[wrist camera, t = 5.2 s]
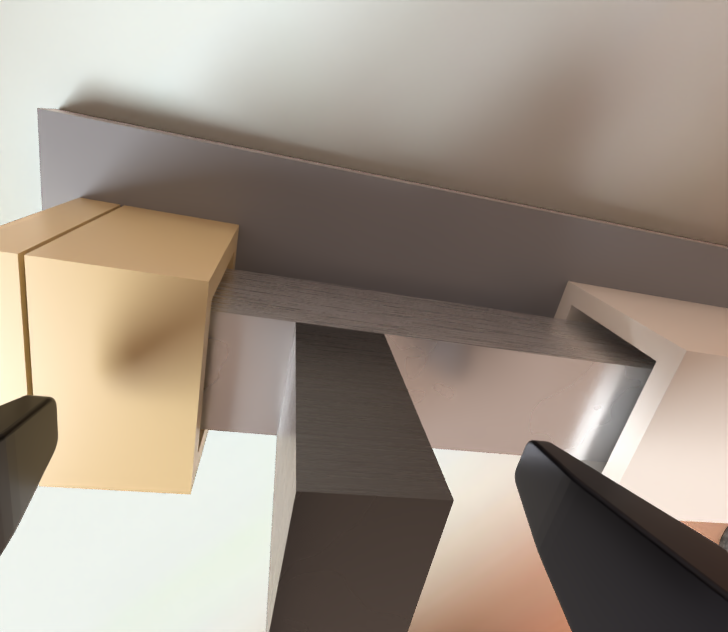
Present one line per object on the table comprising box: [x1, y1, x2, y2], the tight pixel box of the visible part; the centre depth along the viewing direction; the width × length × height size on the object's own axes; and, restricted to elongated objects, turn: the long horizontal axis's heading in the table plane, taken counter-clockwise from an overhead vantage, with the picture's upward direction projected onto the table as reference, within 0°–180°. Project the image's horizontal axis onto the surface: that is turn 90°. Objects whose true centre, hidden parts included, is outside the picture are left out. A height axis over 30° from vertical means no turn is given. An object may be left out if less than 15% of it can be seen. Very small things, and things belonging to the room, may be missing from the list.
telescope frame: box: [0, 108, 728, 523], centre depth 14 cm, size 9×29×6 cm, turn 78°
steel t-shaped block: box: [200, 268, 656, 632], centre depth 10 cm, size 3×17×8 cm, turn 78°
